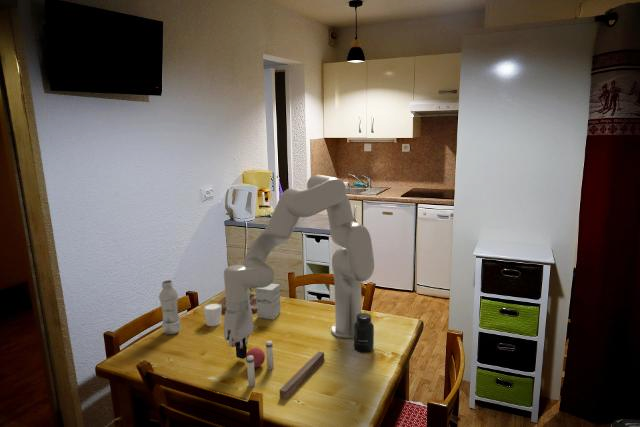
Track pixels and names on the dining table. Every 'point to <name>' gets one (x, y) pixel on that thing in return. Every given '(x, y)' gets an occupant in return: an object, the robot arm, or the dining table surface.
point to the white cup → (213, 314)
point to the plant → (252, 302)
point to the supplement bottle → (363, 333)
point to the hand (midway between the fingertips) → (241, 356)
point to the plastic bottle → (169, 308)
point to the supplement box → (268, 301)
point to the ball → (256, 356)
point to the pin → (269, 355)
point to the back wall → (301, 375)
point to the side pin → (250, 370)
